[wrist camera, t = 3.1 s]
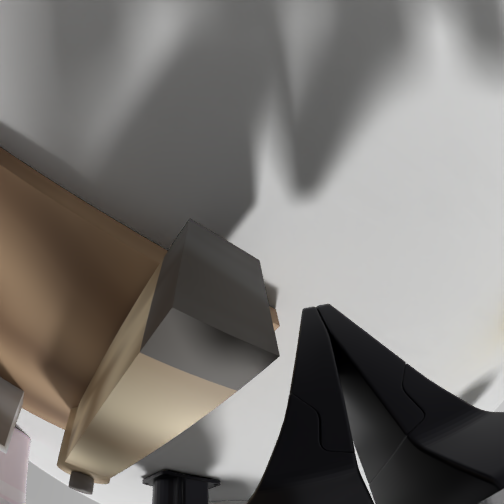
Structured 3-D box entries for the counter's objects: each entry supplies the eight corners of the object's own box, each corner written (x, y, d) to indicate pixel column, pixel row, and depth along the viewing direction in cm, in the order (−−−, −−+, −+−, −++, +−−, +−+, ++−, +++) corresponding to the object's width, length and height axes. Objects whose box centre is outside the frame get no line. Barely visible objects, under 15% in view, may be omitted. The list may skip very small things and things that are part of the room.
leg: (110, 436, 16) (102, 486, 12) (66, 418, 15) (54, 468, 11) (266, 264, 10) (289, 360, 6) (181, 213, 9) (158, 299, 5)
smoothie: (-16, 415, 18) (-43, 514, 6) (6, 415, 18) (-23, 533, 6) (24, 446, 22) (6, 539, 10) (52, 448, 21) (35, 557, 9)
